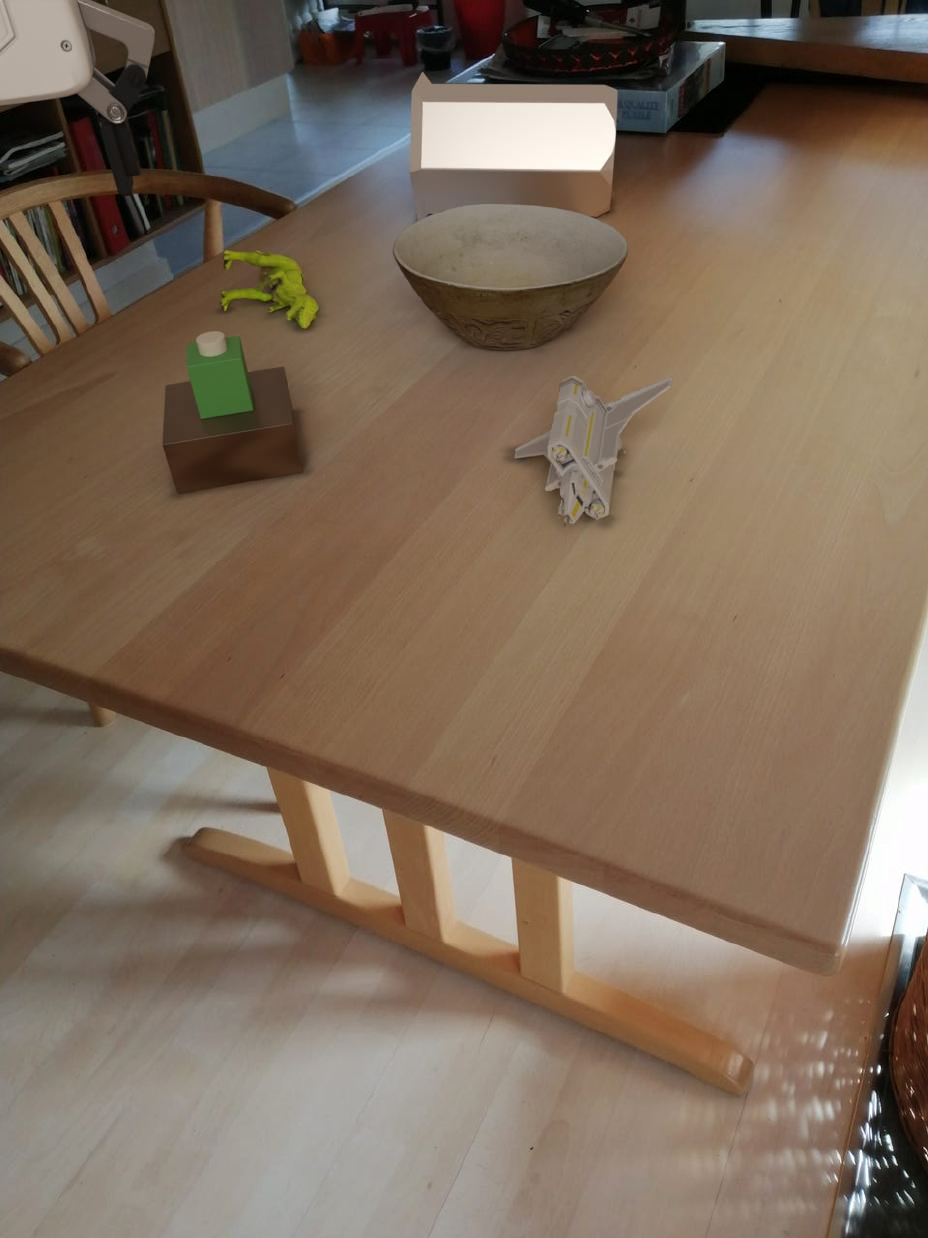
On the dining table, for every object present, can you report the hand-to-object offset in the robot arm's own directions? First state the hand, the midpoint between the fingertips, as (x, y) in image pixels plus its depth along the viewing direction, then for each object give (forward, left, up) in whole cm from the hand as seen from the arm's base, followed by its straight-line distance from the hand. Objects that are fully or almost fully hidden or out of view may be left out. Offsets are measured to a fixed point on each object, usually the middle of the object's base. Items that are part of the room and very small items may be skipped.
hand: (46, 200), depth 61 cm
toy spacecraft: (+34, -1, -28) cm, 44 cm away
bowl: (+36, +32, -28) cm, 56 cm away
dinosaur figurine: (+12, +50, -28) cm, 59 cm away
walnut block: (+6, +16, -28) cm, 33 cm away
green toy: (+6, +16, -23) cm, 29 cm away
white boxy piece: (+45, +67, -28) cm, 86 cm away
